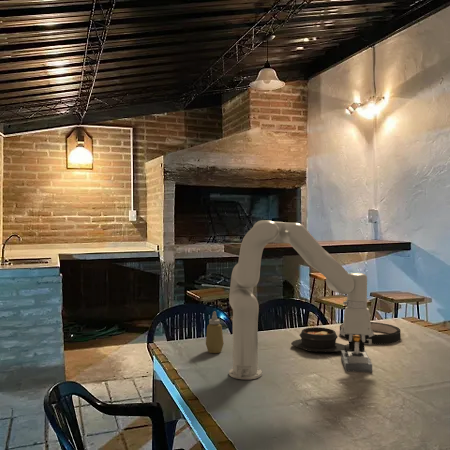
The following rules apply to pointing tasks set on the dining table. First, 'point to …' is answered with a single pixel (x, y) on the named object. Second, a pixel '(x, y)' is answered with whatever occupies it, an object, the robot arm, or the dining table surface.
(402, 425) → the dining table surface
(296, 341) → the casserole
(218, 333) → the squeeze bottle
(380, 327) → the belt
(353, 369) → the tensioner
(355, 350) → the orange and grey cylinder
